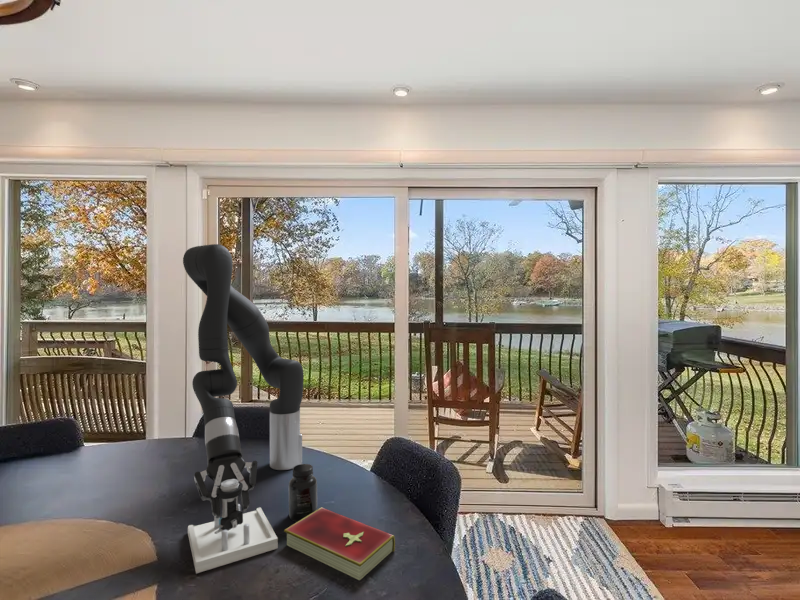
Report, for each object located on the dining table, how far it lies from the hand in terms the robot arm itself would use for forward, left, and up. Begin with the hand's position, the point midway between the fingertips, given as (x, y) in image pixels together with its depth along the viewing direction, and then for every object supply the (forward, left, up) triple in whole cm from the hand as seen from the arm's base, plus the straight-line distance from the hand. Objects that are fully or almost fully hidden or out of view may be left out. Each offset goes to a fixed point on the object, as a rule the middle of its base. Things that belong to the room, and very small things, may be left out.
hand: (232, 513), depth 94 cm
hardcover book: (-20, +13, -8) cm, 25 cm away
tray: (0, -2, -7) cm, 7 cm away
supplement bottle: (-17, -4, -7) cm, 19 cm away
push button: (0, -2, -4) cm, 5 cm away
